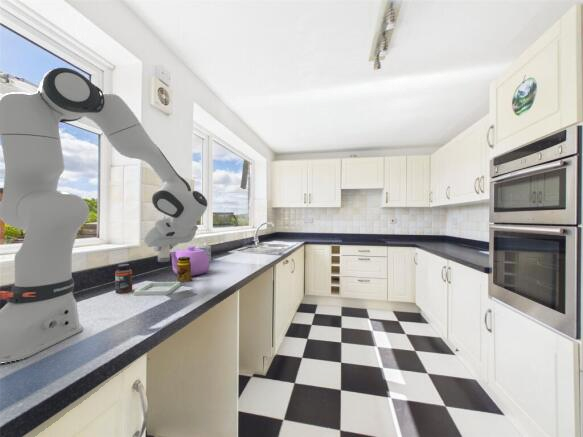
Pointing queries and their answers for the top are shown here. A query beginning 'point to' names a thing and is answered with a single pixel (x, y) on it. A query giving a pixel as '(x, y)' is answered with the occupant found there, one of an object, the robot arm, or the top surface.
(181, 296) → the holder
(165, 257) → the salt shaker
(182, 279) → the condiment
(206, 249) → the light bulb box
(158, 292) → the parts tray
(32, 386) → the top surface
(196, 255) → the teapot
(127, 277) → the supplement bottle
